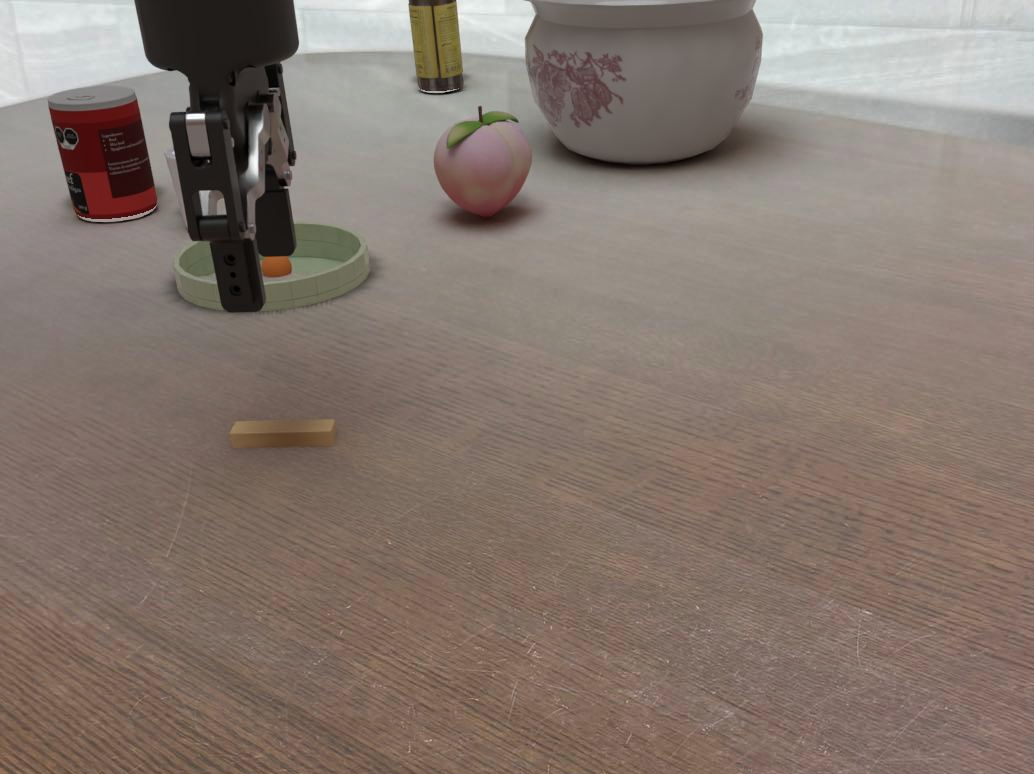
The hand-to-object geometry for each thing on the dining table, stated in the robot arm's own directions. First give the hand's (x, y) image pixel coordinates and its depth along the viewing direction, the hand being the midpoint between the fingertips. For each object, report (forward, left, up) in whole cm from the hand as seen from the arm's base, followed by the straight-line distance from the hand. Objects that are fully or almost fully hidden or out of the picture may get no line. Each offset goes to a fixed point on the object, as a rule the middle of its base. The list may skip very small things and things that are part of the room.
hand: (262, 280), depth 66 cm
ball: (-7, +30, -10) cm, 32 cm away
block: (0, 0, -11) cm, 11 cm away
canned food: (-27, +52, -12) cm, 60 cm away
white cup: (-16, +47, -12) cm, 51 cm away
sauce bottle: (0, +103, -12) cm, 104 cm away
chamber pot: (+25, +70, -12) cm, 75 cm away
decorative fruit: (+9, +47, -12) cm, 49 cm away
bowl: (-7, +29, -11) cm, 31 cm away
